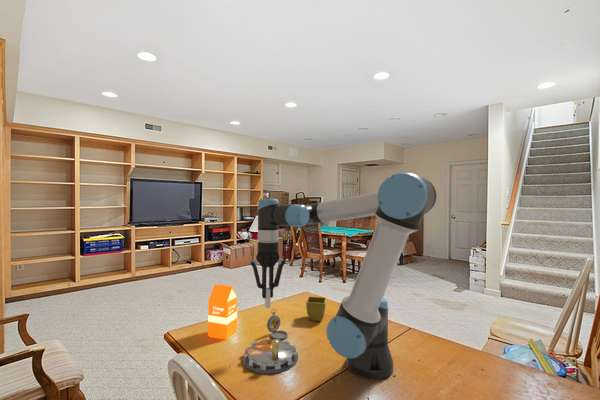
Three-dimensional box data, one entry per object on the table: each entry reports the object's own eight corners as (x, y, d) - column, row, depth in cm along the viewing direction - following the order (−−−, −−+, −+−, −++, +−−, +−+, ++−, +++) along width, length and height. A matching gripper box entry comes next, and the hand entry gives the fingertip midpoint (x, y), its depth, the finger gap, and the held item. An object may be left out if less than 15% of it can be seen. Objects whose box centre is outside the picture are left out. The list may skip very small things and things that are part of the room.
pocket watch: (285, 341, 112) (285, 315, 112) (264, 339, 113) (264, 313, 113) (290, 332, 120) (290, 308, 120) (270, 330, 121) (271, 306, 121)
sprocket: (287, 339, 111) (287, 320, 111) (304, 364, 94) (304, 340, 94) (240, 347, 105) (240, 326, 105) (249, 375, 88) (249, 350, 88)
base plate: (309, 357, 100) (309, 356, 100) (266, 382, 86) (266, 380, 86) (273, 339, 113) (273, 338, 113) (231, 358, 99) (231, 356, 99)
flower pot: (307, 314, 139) (308, 296, 139) (325, 315, 138) (326, 297, 138) (305, 322, 130) (305, 302, 130) (325, 323, 129) (325, 303, 129)
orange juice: (226, 340, 112) (227, 288, 113) (207, 336, 115) (208, 286, 116) (237, 331, 120) (237, 283, 120) (219, 328, 123) (219, 281, 123)
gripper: (283, 239, 109) (282, 301, 109) (248, 240, 106) (248, 304, 105) (288, 242, 102) (287, 308, 102) (251, 243, 98) (250, 312, 98)
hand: (267, 306), depth 103 cm, fingers closed
